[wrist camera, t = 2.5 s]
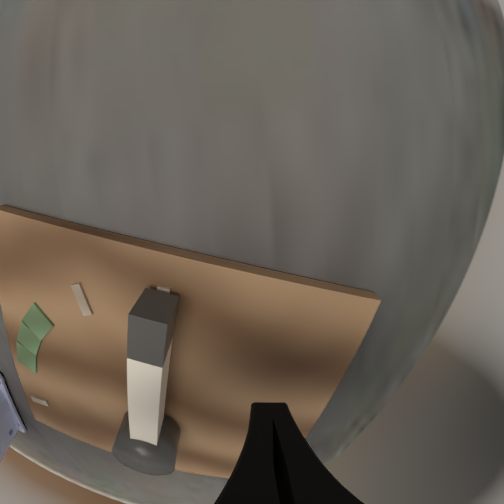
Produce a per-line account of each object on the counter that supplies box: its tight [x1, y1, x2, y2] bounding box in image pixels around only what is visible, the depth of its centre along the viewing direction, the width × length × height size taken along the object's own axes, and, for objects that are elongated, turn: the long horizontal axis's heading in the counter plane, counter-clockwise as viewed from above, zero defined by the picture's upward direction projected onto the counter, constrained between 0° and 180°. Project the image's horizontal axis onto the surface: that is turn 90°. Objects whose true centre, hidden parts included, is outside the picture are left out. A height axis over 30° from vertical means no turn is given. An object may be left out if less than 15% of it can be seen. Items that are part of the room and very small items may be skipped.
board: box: [0, 205, 381, 478], centre depth 16 cm, size 19×22×1 cm
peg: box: [112, 288, 181, 475], centre depth 13 cm, size 13×4×3 cm, turn 166°
